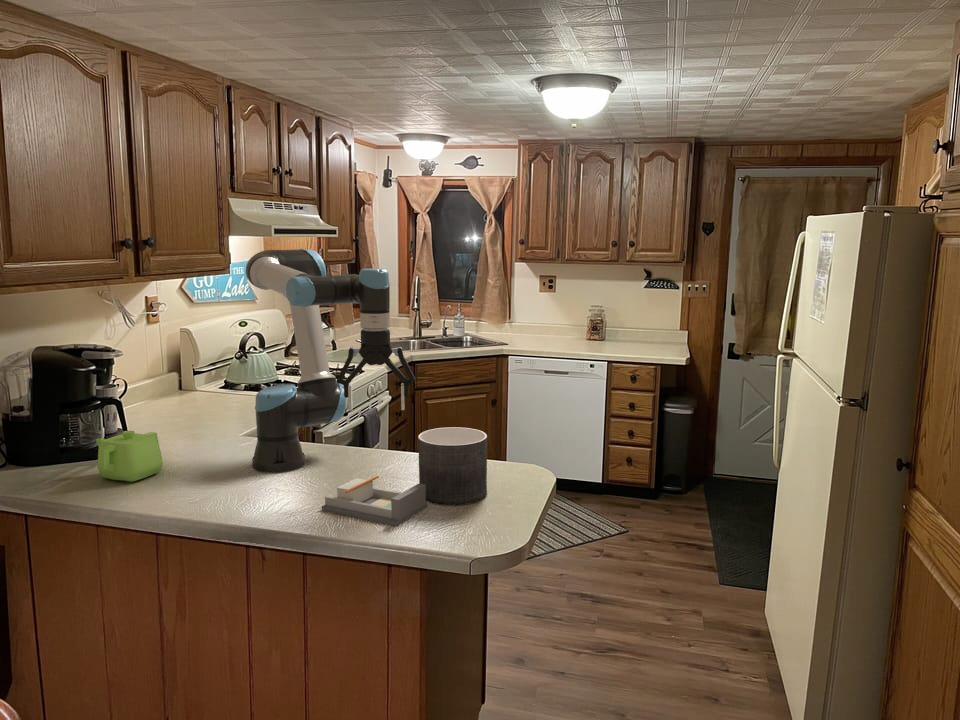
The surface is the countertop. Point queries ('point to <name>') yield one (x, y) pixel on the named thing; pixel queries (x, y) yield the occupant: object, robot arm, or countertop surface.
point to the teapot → (129, 456)
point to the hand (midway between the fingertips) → (376, 409)
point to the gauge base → (382, 505)
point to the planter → (453, 465)
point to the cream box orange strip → (356, 490)
